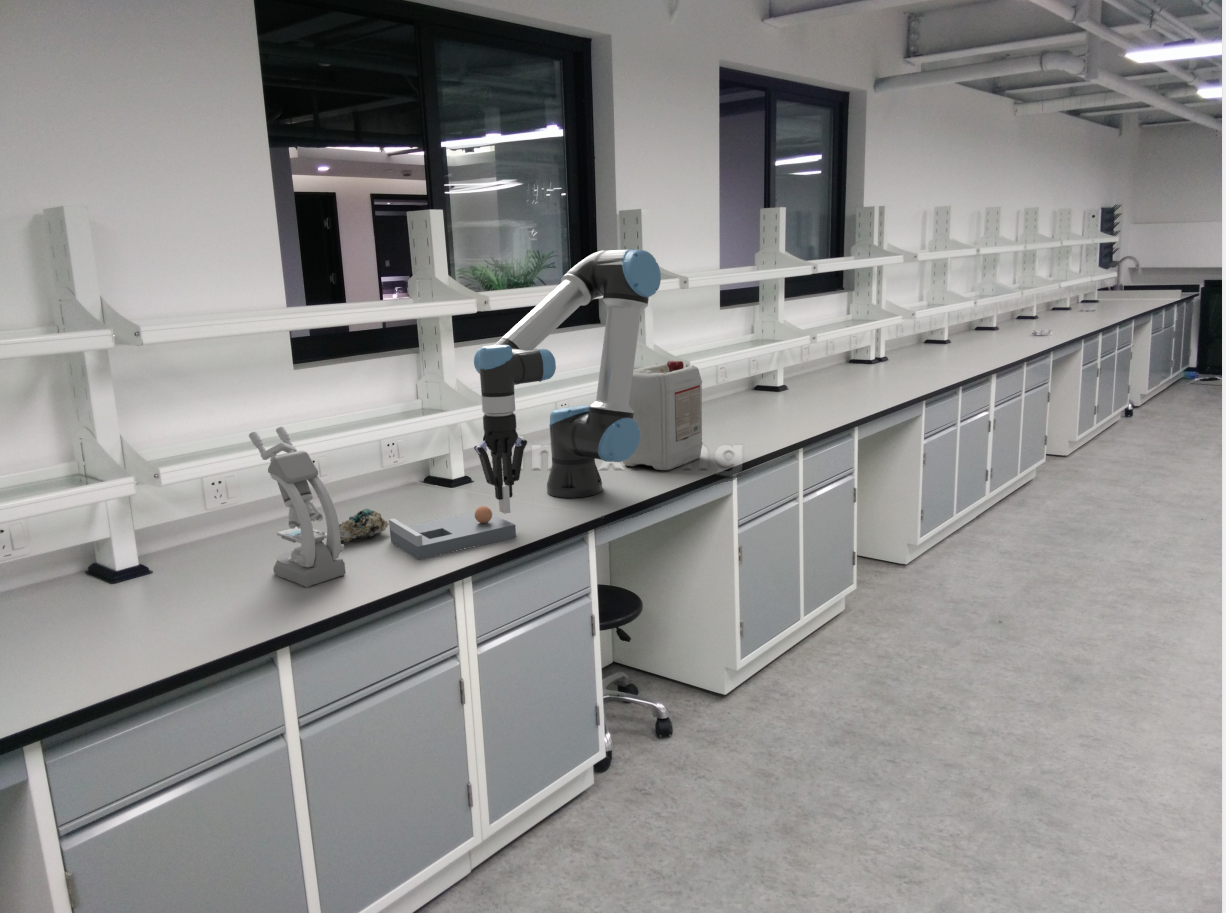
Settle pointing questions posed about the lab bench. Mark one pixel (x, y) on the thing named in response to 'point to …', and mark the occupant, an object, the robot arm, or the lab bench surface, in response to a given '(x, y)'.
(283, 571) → the microscope
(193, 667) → the lab bench surface
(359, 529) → the mineral specimen
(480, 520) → the ball
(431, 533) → the grey flat block
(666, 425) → the jerry can
